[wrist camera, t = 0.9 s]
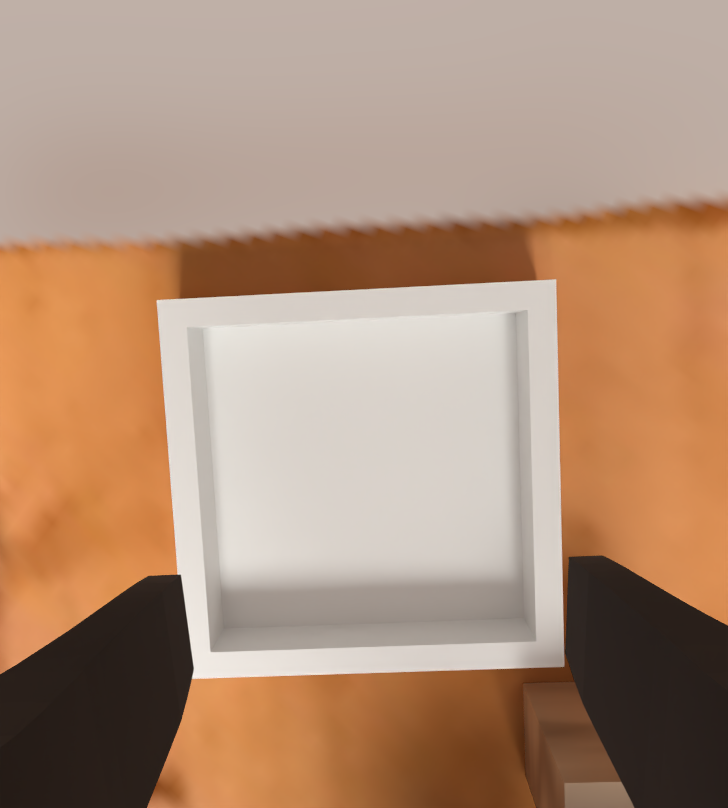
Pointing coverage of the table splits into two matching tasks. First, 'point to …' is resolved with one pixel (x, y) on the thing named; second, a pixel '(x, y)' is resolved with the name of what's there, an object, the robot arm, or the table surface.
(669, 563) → the table surface
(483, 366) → the white tray
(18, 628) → the table surface
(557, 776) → the brown rectangular block
